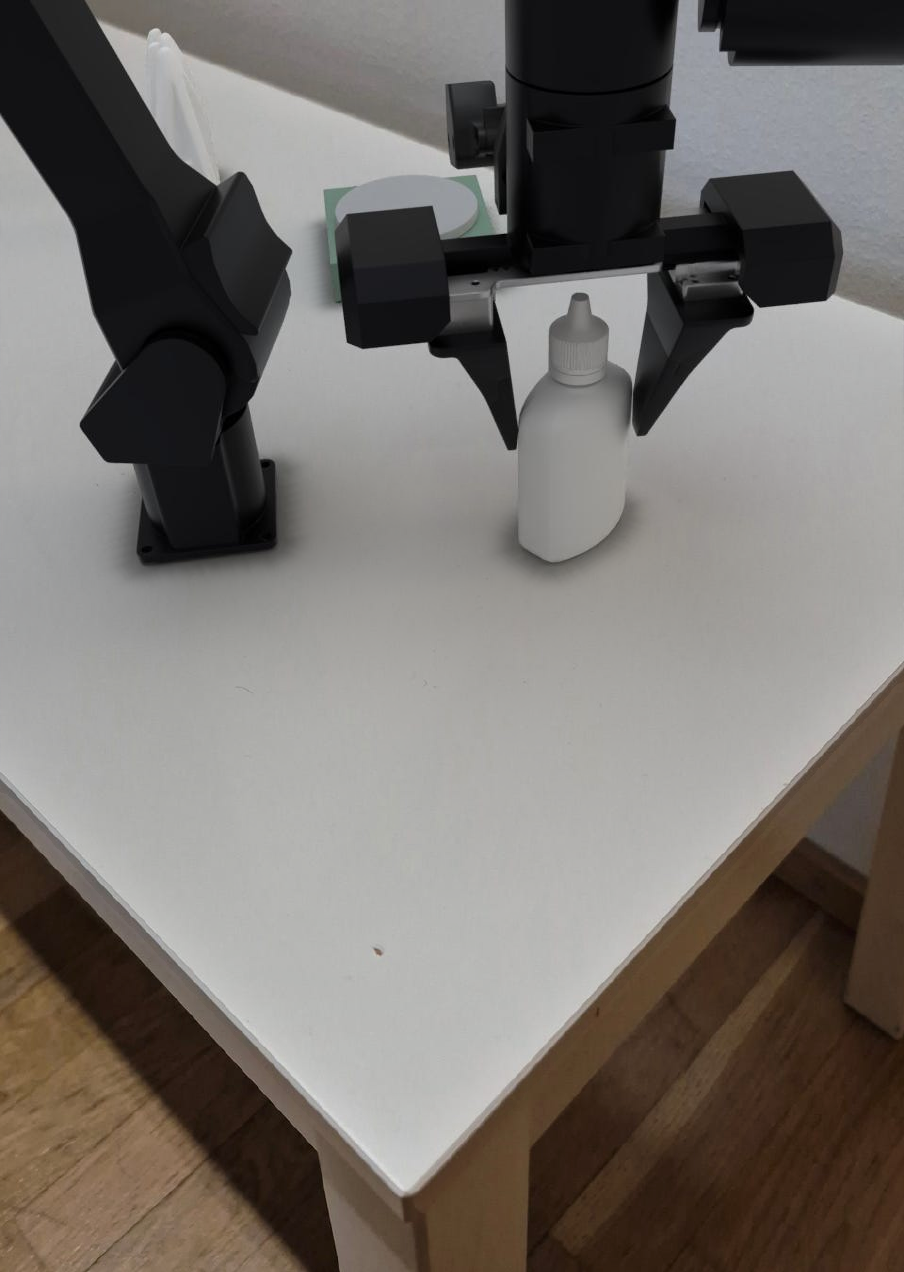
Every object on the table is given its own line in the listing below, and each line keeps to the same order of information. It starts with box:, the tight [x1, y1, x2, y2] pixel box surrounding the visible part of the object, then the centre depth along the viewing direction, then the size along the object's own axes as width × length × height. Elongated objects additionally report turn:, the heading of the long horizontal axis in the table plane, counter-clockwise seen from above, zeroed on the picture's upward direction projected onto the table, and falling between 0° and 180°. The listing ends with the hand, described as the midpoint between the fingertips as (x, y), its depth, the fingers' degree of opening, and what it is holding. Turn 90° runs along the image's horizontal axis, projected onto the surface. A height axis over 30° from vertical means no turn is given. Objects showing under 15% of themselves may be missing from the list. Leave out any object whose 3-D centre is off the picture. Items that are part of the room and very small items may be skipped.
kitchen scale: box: [323, 174, 495, 303], centre depth 72 cm, size 10×10×3 cm
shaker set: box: [144, 27, 221, 185], centre depth 76 cm, size 12×4×11 cm, turn 13°
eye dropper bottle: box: [517, 292, 633, 563], centre depth 50 cm, size 4×6×12 cm
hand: (574, 437), depth 51 cm, fingers open, 5 cm apart
